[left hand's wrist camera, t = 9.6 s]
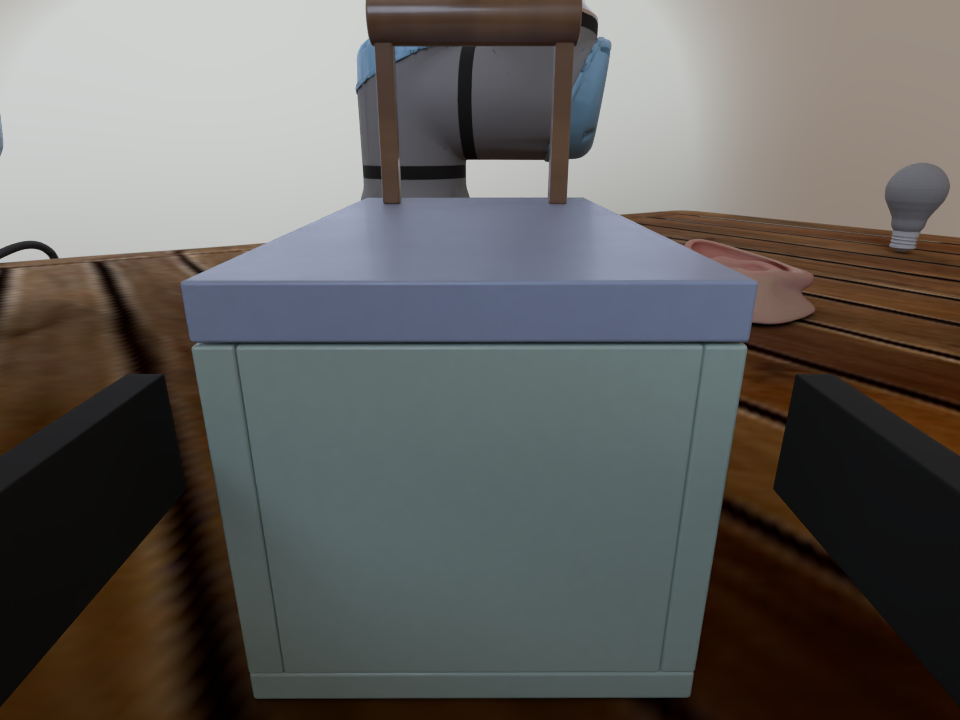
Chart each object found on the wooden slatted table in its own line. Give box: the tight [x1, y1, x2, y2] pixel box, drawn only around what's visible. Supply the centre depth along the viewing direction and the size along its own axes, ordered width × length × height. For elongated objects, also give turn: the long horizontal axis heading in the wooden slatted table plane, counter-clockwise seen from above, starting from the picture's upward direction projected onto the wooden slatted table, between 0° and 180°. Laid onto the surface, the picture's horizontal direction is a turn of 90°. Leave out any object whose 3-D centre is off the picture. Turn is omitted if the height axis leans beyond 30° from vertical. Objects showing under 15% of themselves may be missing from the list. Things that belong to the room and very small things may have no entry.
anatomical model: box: [685, 239, 815, 324], centre depth 47 cm, size 13×4×12 cm
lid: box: [180, 0, 758, 343], centre depth 17 cm, size 18×10×9 cm, turn 0°
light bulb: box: [885, 163, 950, 252], centre depth 68 cm, size 6×6×10 cm
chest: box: [192, 342, 747, 699], centre depth 20 cm, size 17×10×9 cm, turn 0°
